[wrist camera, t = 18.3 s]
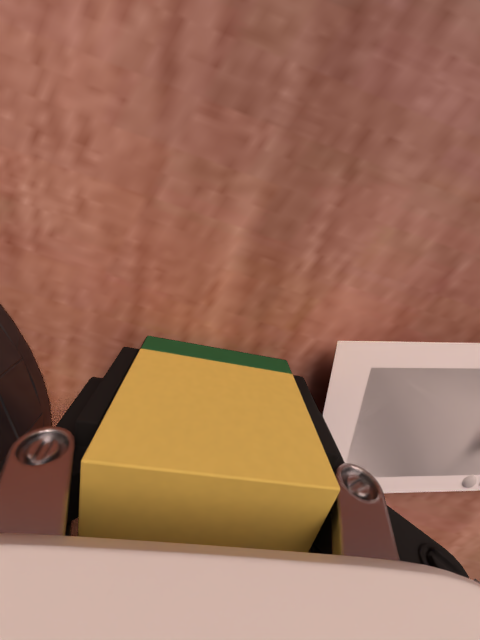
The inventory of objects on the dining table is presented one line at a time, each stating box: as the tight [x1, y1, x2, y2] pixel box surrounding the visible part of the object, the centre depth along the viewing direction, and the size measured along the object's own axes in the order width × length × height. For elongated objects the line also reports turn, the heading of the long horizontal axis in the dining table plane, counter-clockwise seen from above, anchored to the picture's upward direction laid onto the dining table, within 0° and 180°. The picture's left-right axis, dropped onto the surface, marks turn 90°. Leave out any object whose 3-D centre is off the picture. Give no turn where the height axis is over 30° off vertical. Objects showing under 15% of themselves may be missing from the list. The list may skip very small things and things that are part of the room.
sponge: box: [78, 336, 340, 553], centre depth 9 cm, size 4×6×6 cm
